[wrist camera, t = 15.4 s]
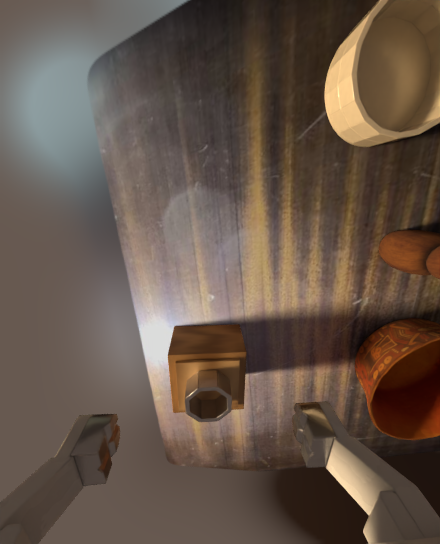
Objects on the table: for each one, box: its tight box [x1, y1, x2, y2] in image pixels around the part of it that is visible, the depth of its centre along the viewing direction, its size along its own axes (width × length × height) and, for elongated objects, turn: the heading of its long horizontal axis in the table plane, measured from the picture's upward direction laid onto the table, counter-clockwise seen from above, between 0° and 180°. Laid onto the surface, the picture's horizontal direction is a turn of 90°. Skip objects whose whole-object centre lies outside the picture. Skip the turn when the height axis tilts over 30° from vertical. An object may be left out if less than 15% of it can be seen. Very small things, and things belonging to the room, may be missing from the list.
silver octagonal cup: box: [185, 370, 232, 422], centre depth 31 cm, size 6×6×3 cm
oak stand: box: [168, 324, 247, 413], centre depth 36 cm, size 11×11×7 cm
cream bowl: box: [325, 0, 440, 147], centre depth 25 cm, size 13×13×6 cm
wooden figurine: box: [379, 230, 440, 279], centre depth 27 cm, size 7×6×15 cm
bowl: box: [355, 318, 440, 440], centre depth 37 cm, size 21×21×10 cm
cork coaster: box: [175, 358, 240, 411], centre depth 32 cm, size 9×9×1 cm
